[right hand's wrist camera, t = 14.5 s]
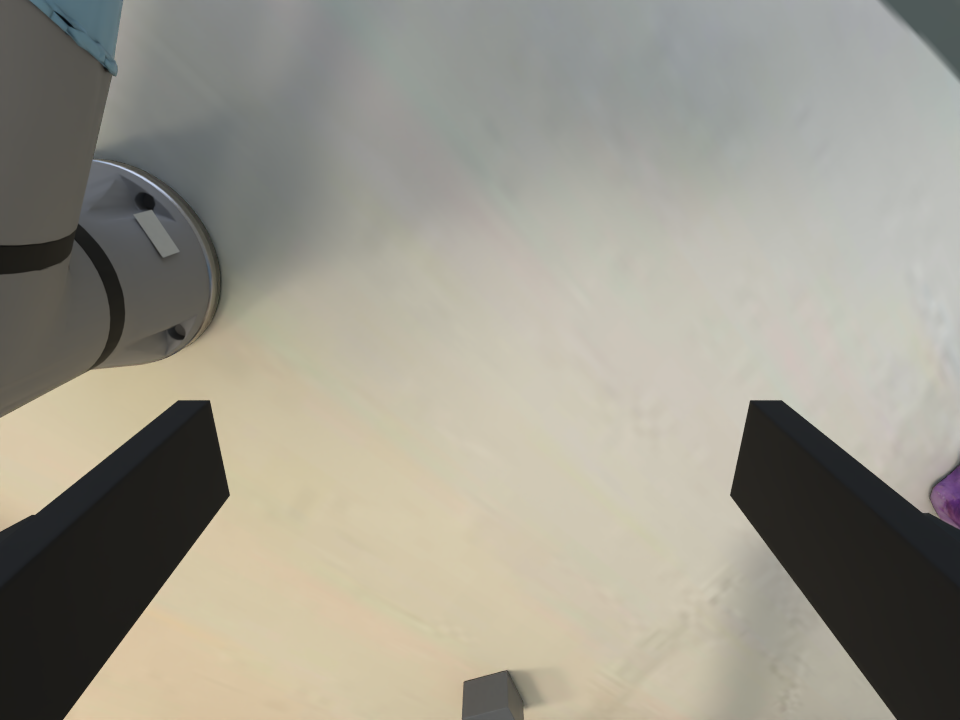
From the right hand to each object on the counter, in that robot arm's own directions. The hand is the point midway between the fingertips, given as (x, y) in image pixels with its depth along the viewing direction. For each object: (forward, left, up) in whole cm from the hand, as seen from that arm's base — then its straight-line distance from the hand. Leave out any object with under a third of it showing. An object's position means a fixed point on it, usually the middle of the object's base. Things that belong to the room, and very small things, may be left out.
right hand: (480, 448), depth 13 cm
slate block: (0, -47, -28) cm, 55 cm away
